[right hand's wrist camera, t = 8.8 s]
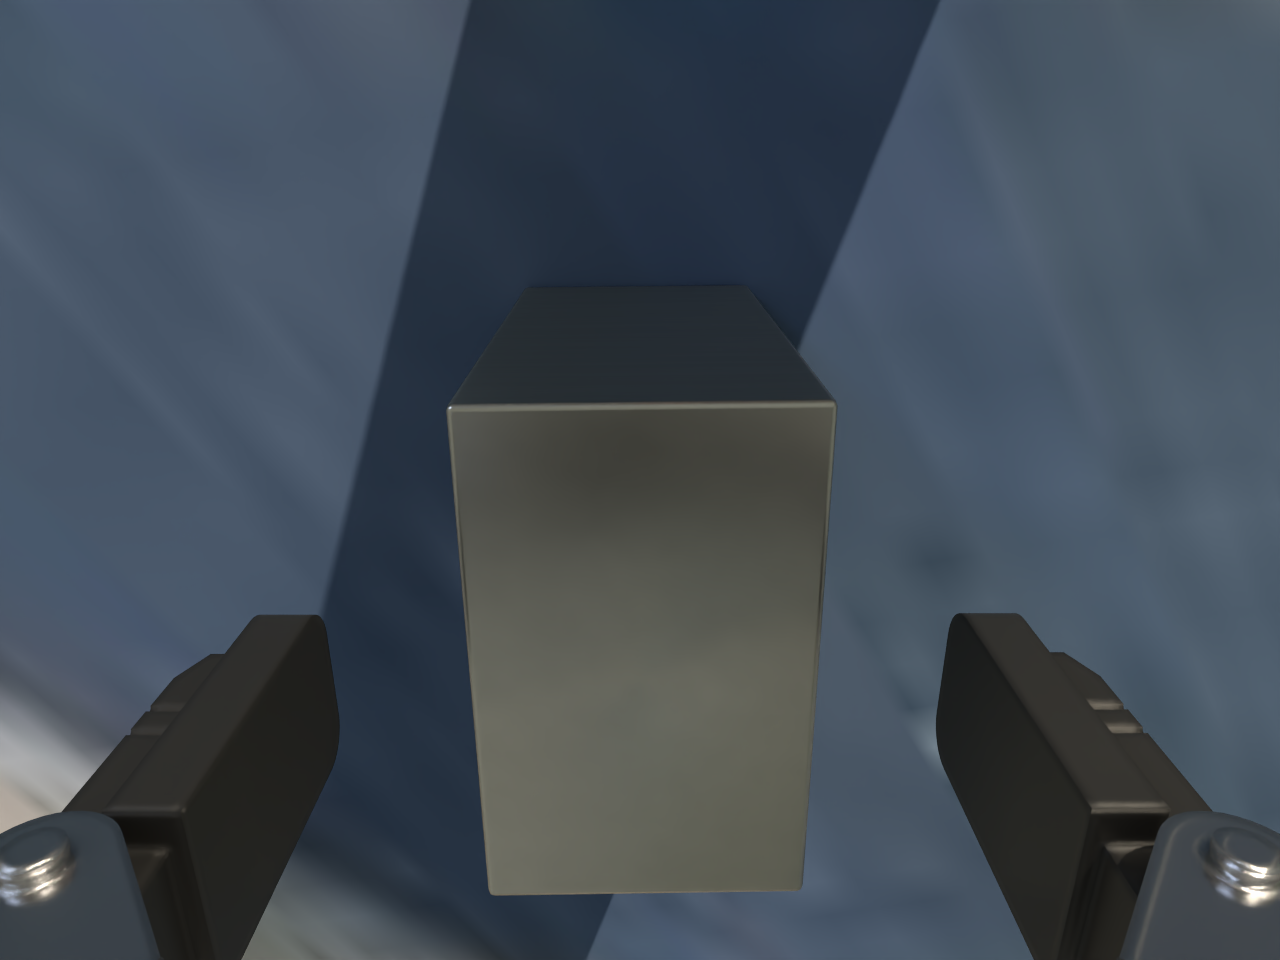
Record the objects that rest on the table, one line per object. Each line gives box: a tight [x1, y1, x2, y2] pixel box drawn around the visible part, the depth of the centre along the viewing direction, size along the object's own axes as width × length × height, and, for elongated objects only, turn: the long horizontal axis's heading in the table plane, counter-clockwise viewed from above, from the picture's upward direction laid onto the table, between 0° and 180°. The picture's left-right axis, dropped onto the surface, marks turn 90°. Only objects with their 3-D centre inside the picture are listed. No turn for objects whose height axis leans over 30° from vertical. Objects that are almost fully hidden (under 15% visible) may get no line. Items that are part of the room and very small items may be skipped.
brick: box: [446, 285, 837, 895], centre depth 16 cm, size 5×8×9 cm, turn 0°
